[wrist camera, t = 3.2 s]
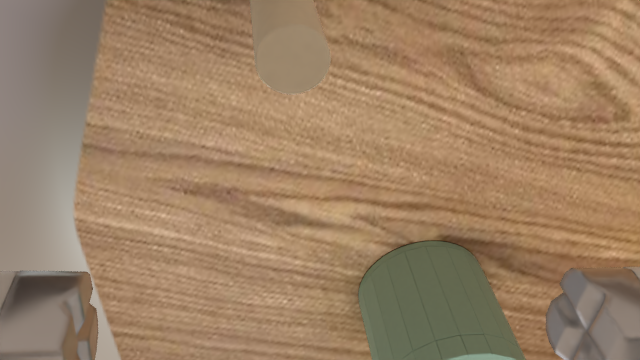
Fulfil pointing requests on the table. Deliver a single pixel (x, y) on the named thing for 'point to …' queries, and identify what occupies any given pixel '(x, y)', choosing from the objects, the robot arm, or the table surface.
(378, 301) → the jar
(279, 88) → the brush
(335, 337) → the table surface
